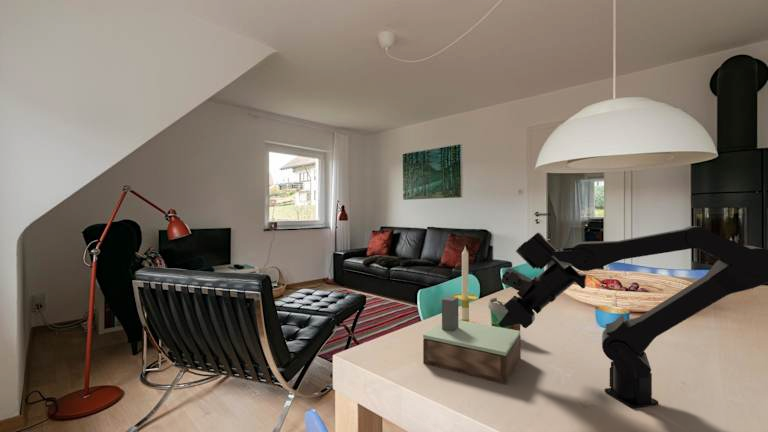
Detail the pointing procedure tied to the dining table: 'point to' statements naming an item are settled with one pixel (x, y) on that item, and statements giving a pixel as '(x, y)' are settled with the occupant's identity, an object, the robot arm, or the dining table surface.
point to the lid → (470, 332)
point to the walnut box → (472, 360)
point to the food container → (499, 314)
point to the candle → (465, 289)
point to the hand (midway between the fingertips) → (500, 325)
